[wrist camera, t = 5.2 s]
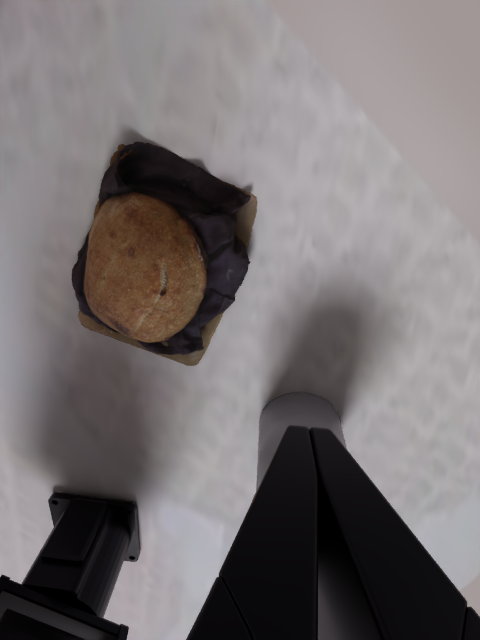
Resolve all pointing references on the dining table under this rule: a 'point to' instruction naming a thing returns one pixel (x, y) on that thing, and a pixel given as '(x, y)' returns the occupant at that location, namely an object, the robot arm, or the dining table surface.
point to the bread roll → (162, 253)
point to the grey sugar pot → (292, 423)
